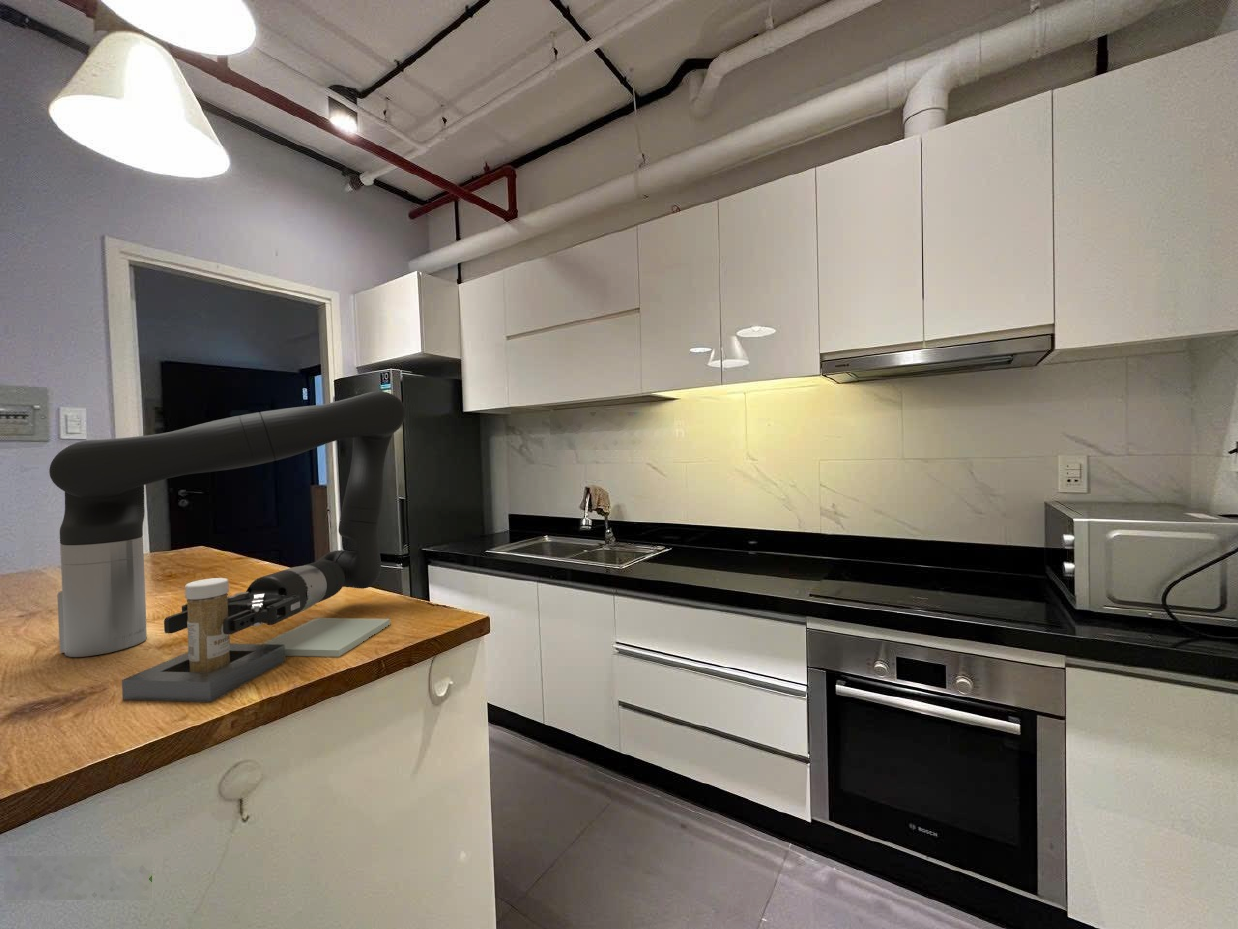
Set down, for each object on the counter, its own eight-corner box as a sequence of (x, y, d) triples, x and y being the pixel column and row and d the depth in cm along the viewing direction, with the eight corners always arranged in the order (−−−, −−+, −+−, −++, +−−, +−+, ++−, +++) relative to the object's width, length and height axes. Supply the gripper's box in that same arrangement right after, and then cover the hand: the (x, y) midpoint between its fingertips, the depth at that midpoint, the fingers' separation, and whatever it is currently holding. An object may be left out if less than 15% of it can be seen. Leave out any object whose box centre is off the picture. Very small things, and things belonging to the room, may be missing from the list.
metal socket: (122, 699, 62) (121, 679, 62) (210, 659, 74) (209, 643, 74) (210, 702, 61) (210, 682, 61) (285, 661, 73) (284, 644, 73)
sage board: (252, 655, 75) (252, 648, 75) (316, 623, 89) (316, 618, 89) (339, 656, 74) (338, 650, 74) (390, 624, 88) (390, 619, 88)
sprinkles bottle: (229, 681, 67) (226, 581, 66) (185, 690, 64) (181, 587, 64) (233, 668, 71) (230, 575, 70) (191, 677, 68) (187, 580, 68)
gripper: (247, 569, 82) (145, 598, 66) (328, 569, 81) (244, 599, 65) (249, 614, 82) (147, 653, 66) (329, 615, 81) (246, 656, 65)
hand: (196, 626), depth 65 cm, fingers open, 8 cm apart
